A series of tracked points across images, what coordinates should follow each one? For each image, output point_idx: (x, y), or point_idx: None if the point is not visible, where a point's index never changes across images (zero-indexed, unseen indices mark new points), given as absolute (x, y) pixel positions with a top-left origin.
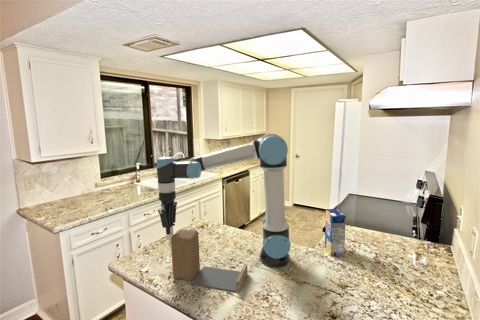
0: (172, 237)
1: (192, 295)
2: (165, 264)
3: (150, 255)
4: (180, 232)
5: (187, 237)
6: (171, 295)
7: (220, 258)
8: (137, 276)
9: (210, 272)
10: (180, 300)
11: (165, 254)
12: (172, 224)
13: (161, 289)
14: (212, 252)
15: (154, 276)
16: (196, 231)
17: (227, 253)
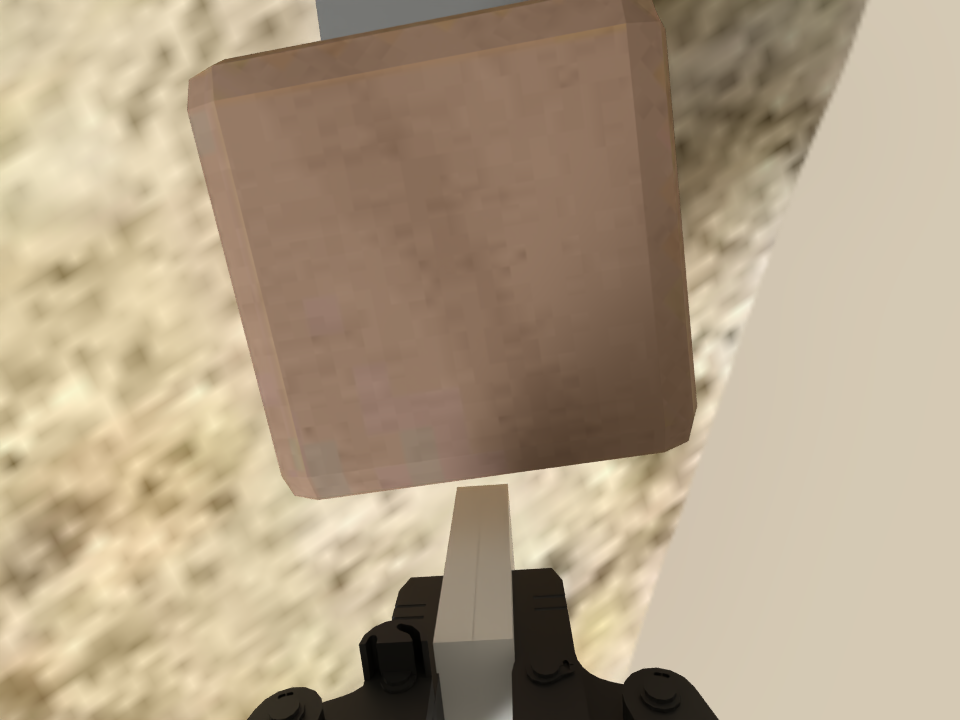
0: (678, 426)
1: (739, 20)
2: (423, 492)
3: (354, 678)
4: (427, 399)
5: (606, 100)
6: (779, 195)
7: (132, 58)
8: (635, 586)
9: (404, 20)
10: (820, 85)
11: (292, 581)
12: (421, 680)
13: (731, 317)
14: (72, 197)
15: (598, 471)
16: (236, 81)
17: (14, 30)
